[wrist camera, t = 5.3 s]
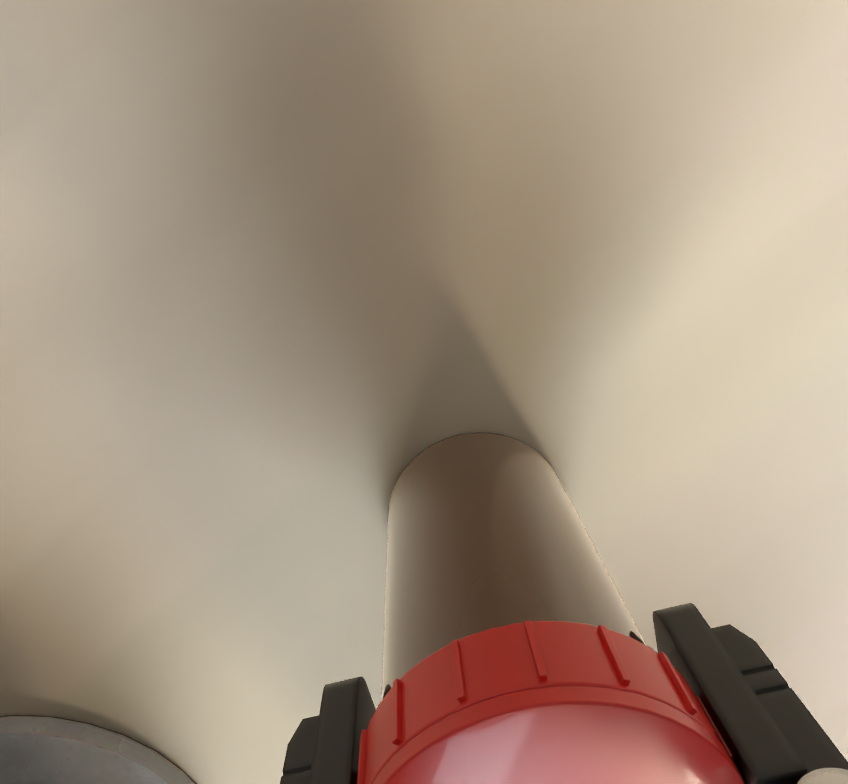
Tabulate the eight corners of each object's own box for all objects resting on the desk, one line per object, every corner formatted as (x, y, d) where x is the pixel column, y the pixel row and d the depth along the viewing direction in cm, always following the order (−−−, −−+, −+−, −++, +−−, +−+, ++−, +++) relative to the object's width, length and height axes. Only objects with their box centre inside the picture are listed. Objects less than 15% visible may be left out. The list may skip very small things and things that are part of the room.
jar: (381, 582, 19) (364, 941, 10) (396, 425, 17) (391, 687, 8) (548, 593, 19) (675, 949, 10) (579, 439, 18) (762, 706, 9)
